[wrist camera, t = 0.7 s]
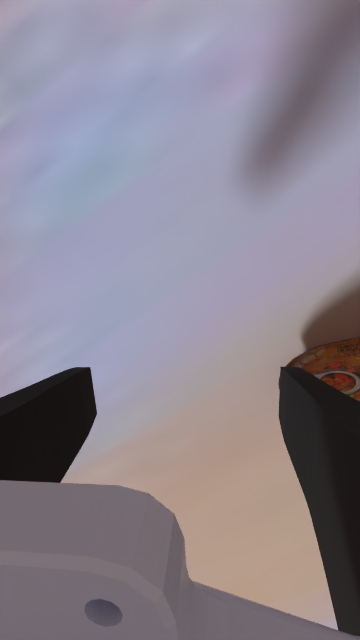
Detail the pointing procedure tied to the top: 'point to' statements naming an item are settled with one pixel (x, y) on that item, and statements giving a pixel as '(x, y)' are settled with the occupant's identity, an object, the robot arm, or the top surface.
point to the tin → (334, 365)
